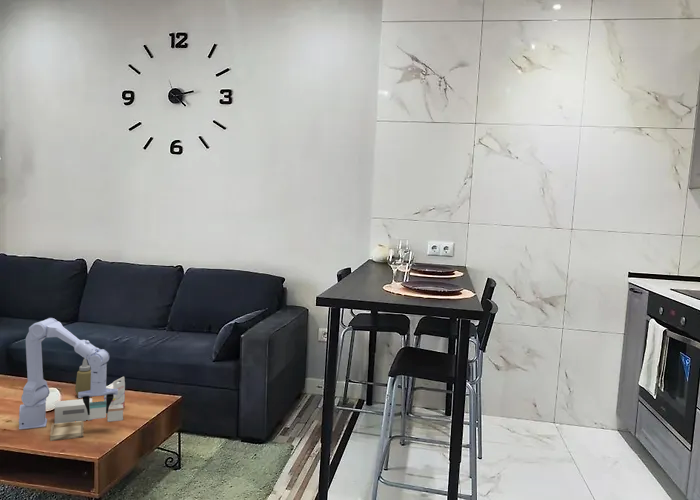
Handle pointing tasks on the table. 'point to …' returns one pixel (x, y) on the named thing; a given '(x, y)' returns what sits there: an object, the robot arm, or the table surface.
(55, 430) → the oak tray
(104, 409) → the small white teal box
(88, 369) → the squeeze bottle
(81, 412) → the printer unit
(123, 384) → the ink cartridge box
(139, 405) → the table surface
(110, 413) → the light grey block
